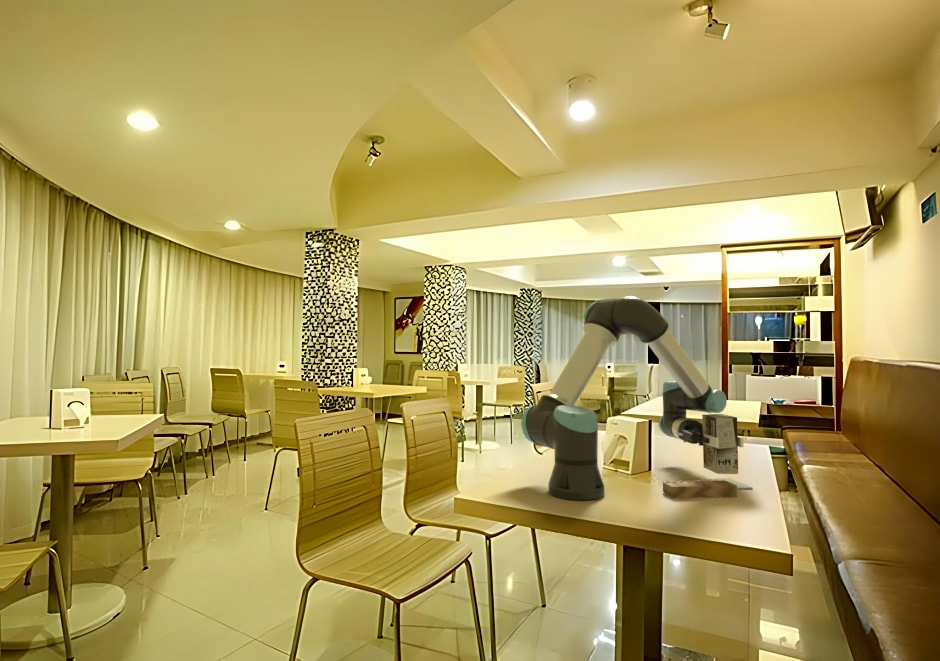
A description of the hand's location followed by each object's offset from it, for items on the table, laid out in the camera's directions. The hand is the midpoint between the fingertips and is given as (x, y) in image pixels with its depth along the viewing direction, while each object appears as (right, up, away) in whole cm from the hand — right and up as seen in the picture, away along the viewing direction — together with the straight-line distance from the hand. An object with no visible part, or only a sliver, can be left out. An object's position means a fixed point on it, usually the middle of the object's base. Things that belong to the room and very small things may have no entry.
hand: (729, 442), depth 147 cm
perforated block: (-11, -13, -6) cm, 18 cm away
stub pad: (+1, -13, +5) cm, 14 cm away
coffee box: (0, -9, +5) cm, 10 cm away
